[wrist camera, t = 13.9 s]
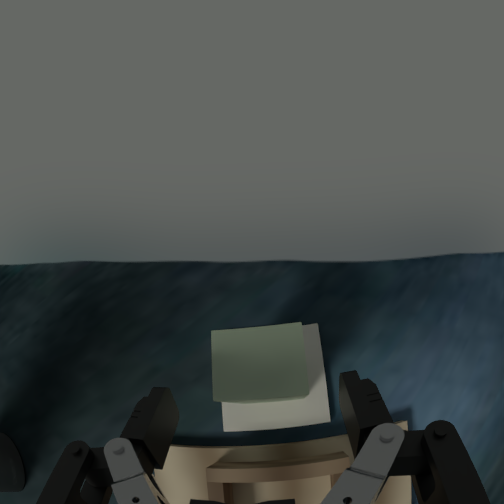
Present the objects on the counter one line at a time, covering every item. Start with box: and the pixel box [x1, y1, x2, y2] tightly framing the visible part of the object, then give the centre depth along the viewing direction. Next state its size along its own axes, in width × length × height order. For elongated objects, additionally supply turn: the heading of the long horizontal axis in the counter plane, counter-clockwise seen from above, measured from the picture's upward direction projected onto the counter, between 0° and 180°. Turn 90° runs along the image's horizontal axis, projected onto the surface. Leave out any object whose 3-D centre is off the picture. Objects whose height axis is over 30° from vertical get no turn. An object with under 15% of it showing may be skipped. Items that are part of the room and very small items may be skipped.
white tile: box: [222, 323, 331, 432], centre depth 23 cm, size 9×9×1 cm
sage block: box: [211, 322, 309, 404], centre depth 19 cm, size 5×4×10 cm
